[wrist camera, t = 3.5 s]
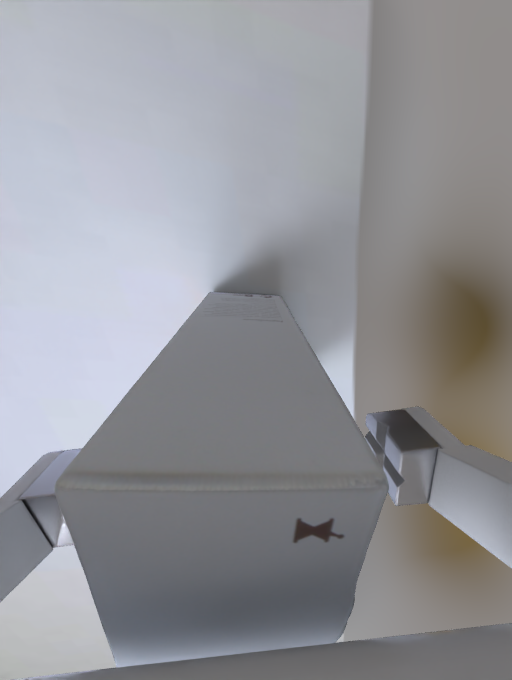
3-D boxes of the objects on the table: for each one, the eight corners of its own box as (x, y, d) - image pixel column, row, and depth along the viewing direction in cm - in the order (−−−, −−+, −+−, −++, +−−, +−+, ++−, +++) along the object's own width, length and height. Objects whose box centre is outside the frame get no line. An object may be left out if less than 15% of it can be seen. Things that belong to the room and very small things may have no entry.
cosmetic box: (206, 290, 14) (32, 475, 3) (281, 294, 14) (413, 481, 3) (208, 383, 16) (114, 703, 5) (273, 386, 16) (328, 697, 5)
